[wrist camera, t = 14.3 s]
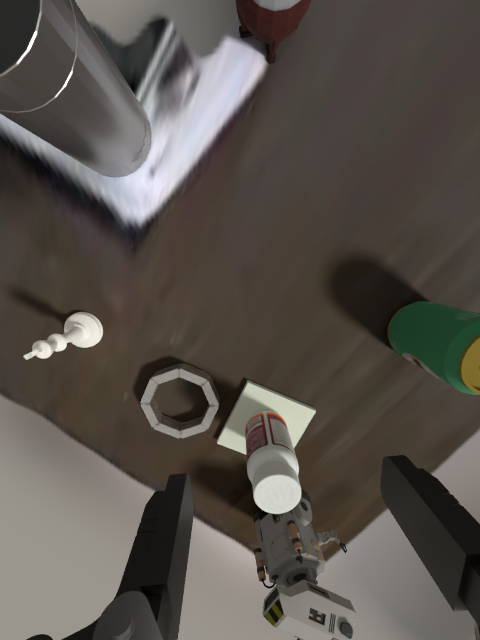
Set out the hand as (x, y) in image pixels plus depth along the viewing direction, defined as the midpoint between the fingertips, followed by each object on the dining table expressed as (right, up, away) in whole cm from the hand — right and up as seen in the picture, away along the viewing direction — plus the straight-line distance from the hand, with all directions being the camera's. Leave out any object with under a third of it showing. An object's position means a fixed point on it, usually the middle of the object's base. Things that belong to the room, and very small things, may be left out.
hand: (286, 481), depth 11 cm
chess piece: (-23, +5, +25) cm, 34 cm away
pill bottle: (+2, -9, +28) cm, 29 cm away
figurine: (+6, -25, +33) cm, 42 cm away
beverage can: (+22, +5, +25) cm, 34 cm away
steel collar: (-10, -5, +27) cm, 30 cm away
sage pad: (+2, -9, +28) cm, 30 cm away
